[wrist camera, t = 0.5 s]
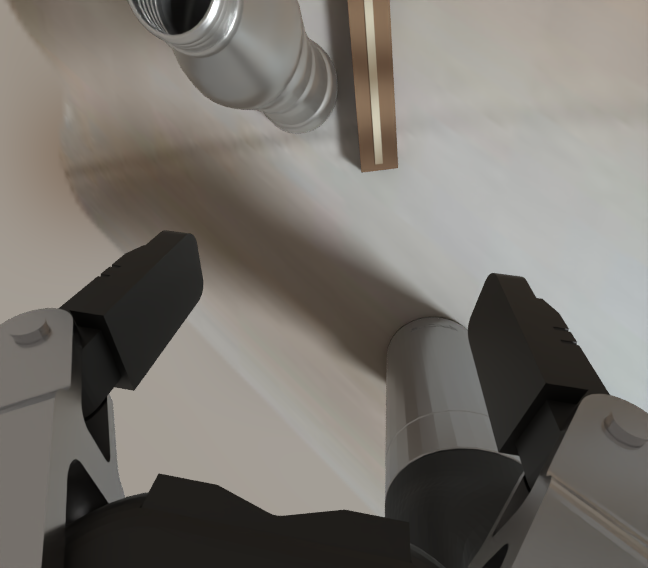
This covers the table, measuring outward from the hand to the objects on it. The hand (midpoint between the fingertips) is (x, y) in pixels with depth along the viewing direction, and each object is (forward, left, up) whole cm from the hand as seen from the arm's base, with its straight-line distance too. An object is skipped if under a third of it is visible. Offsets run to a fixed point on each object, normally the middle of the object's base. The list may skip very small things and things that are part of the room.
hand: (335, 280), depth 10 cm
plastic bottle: (+10, +5, -24) cm, 26 cm away
